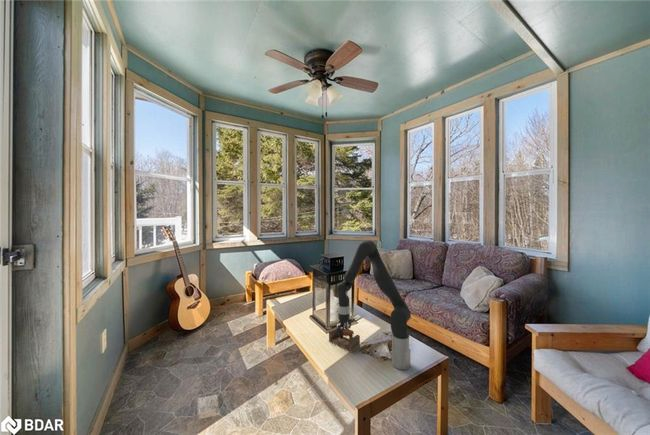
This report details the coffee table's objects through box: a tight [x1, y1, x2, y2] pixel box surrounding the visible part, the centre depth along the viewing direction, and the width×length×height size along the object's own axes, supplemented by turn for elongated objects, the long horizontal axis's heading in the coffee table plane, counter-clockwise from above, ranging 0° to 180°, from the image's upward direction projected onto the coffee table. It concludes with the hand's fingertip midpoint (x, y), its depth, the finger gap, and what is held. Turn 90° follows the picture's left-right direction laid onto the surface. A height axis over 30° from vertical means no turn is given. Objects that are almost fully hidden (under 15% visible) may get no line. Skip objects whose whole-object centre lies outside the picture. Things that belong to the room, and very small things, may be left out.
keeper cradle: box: [328, 326, 361, 353], centre depth 165 cm, size 19×9×7 cm, turn 46°
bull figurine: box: [339, 328, 355, 340], centre depth 165 cm, size 4×13×8 cm, turn 59°
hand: (344, 336), depth 165 cm, fingers closed on bull figurine, 5 cm apart
